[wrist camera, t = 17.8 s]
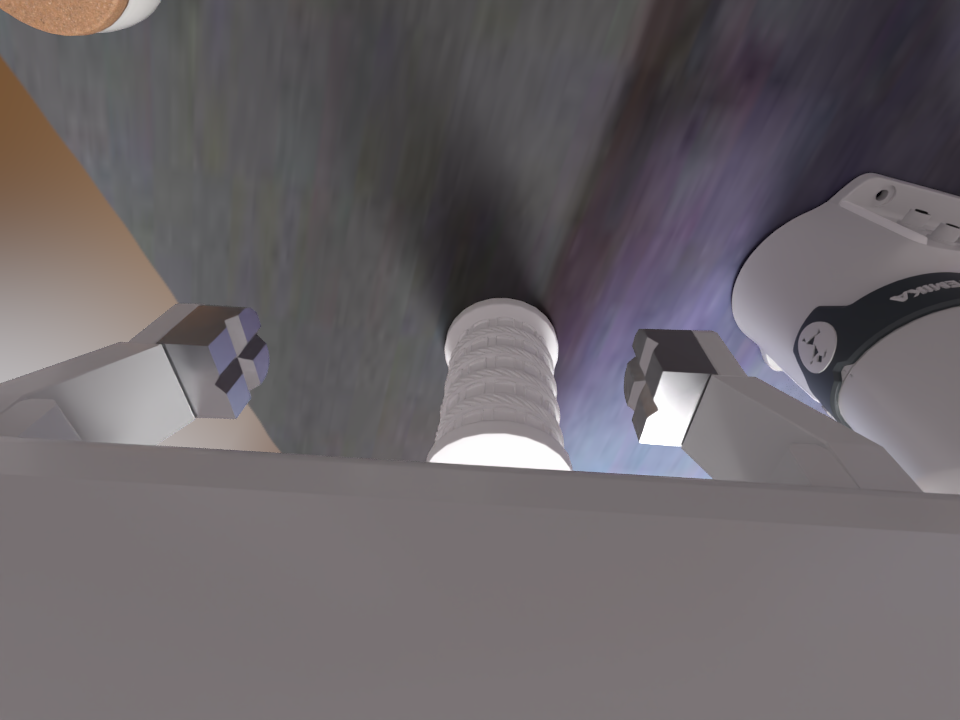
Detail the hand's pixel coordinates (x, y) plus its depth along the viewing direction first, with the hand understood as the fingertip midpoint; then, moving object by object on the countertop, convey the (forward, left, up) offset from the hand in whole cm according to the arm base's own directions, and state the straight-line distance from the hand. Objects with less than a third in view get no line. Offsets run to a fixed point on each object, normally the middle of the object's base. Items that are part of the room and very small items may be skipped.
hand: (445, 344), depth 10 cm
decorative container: (-2, +21, -31) cm, 38 cm away
